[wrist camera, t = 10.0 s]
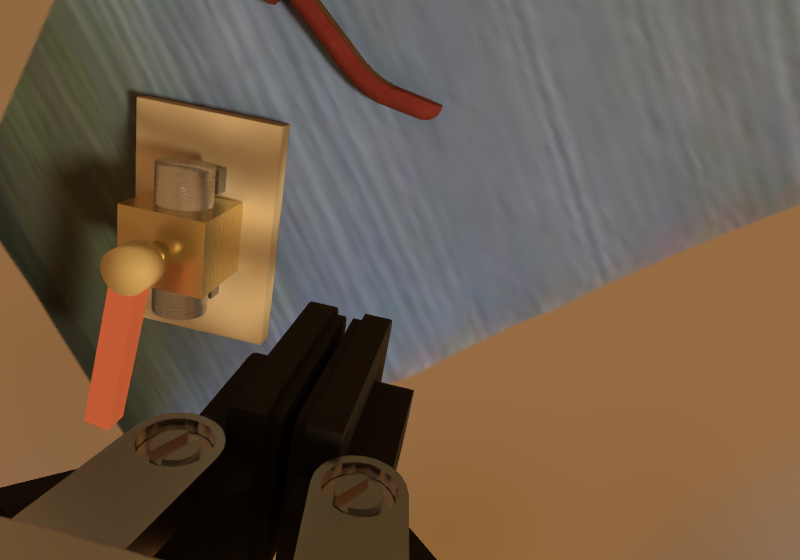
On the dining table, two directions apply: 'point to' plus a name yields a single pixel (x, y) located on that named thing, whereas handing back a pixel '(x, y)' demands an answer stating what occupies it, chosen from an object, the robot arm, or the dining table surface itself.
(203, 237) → the valve body
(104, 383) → the valve lever
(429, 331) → the dining table surface
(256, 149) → the mounting board
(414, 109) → the pliers
